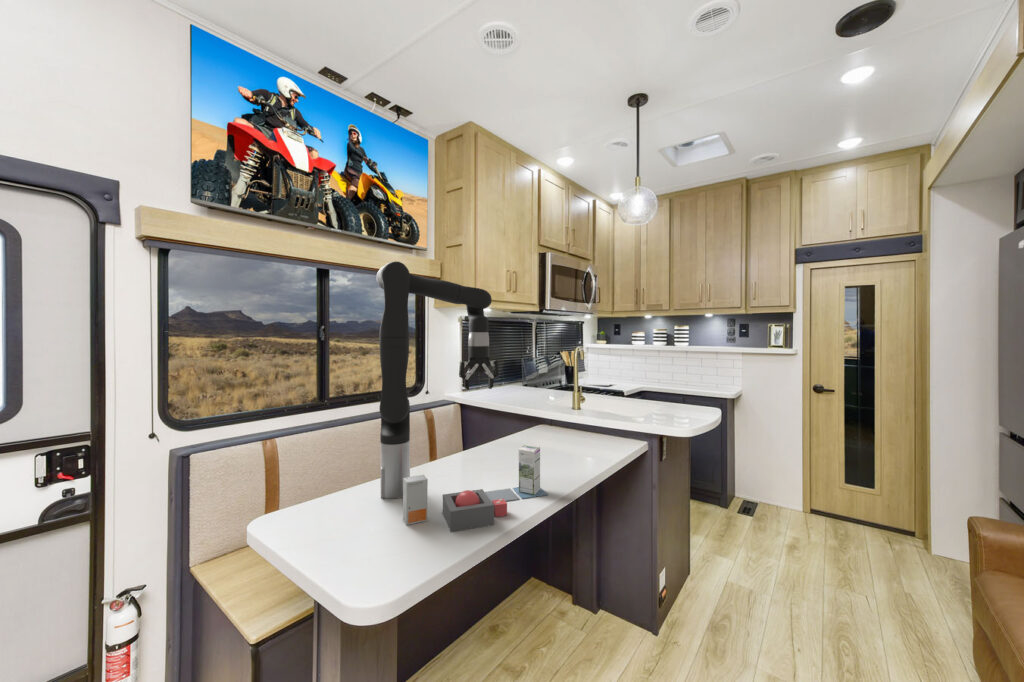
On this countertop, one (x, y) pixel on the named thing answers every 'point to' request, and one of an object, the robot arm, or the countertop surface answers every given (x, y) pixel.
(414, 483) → the skincare box
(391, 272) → the robot arm
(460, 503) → the red ball
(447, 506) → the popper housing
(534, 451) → the syrup box
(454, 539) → the countertop surface
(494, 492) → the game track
